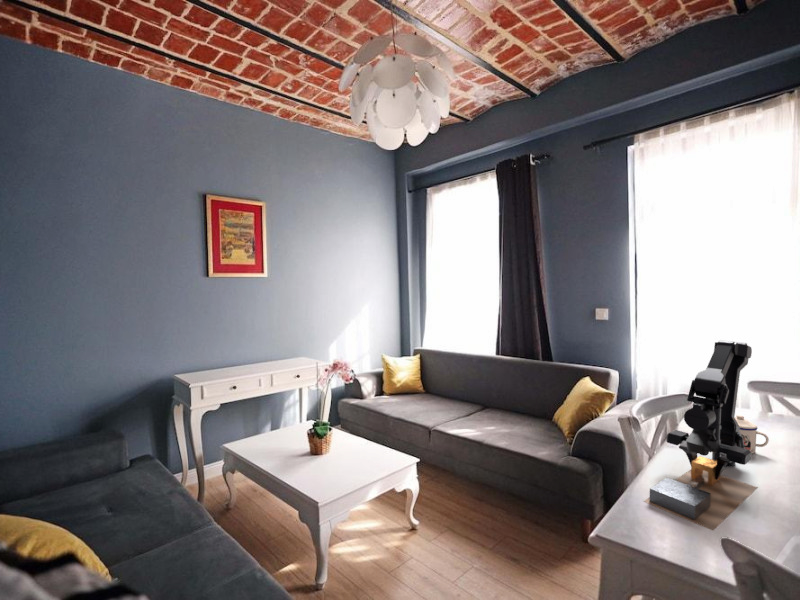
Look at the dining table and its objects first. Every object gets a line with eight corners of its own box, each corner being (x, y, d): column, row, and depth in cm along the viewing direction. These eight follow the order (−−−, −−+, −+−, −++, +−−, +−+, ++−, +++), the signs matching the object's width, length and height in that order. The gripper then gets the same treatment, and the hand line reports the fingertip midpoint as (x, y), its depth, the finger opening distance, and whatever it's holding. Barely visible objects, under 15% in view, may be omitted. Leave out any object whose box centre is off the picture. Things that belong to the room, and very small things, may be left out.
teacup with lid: (720, 449, 141) (721, 415, 140) (724, 441, 147) (725, 409, 147) (766, 460, 132) (768, 424, 132) (769, 451, 139) (770, 417, 138)
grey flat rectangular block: (684, 477, 119) (685, 465, 118) (727, 492, 110) (727, 479, 110) (649, 501, 106) (649, 488, 106) (694, 520, 98) (695, 506, 98)
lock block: (699, 472, 121) (699, 456, 121) (719, 479, 117) (720, 462, 116) (690, 478, 117) (691, 461, 117) (711, 485, 113) (712, 467, 113)
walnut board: (694, 470, 125) (694, 466, 125) (757, 491, 113) (757, 487, 113) (643, 505, 106) (643, 501, 106) (712, 535, 94) (713, 530, 94)
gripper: (658, 418, 119) (657, 470, 120) (739, 438, 104) (736, 498, 105) (675, 410, 126) (673, 460, 126) (753, 429, 110) (750, 485, 111)
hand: (705, 475), depth 117 cm, fingers closed on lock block, 5 cm apart
